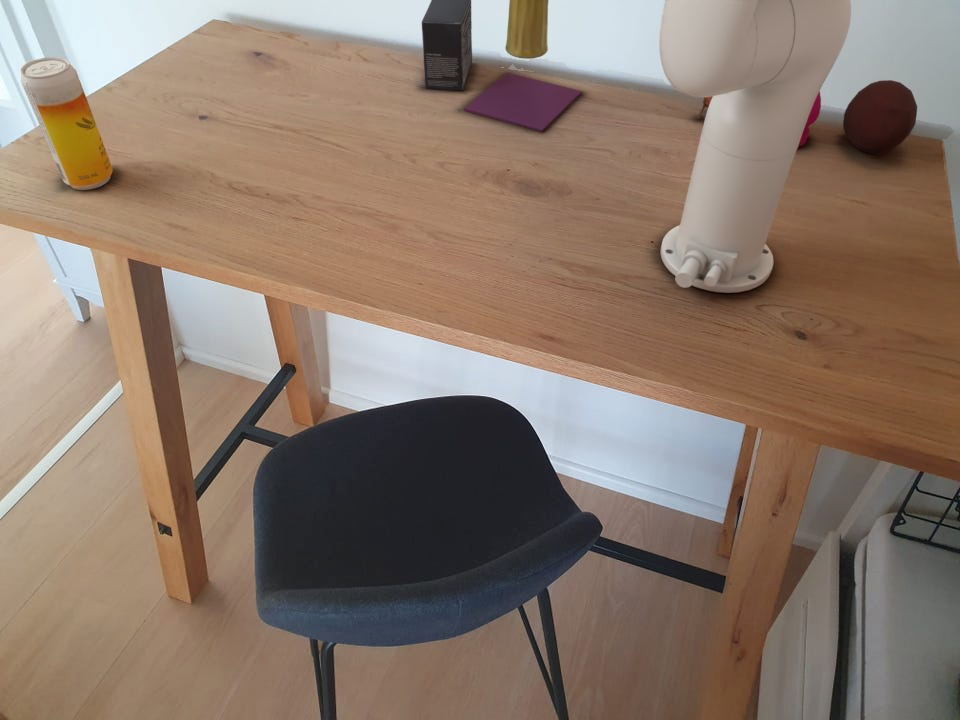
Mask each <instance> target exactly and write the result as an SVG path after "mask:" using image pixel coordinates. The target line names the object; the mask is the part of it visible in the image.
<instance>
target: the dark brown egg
mask: <svg viewBox="0 0 960 720" xmlns="http://www.w3.org/2000/svg"><path fill="white" fill-rule="evenodd" d="M917 115H918V104H917V102H916V99H915V97H914V93H913V91H912V90H911V89H910V88H908V87H907V86H906V85H905V84H903V83H901V82H900V81H896V80H892V79H887V80H886V79H884V80H877V81H874V82H871V83H869V84H868V85H866V86H865V87H864V88H863V87H862V88H861V89H860V90H859V91H858V92H857V93H856V94H855V95H854V97H853V98H852V99H851V100H850V102H848V104H847V107H846V109H845V110H844V113H843V122H842V125H843V127H842V128H843V131H844V135H845V137H846V138H847V140H849V142H850V143H851V144H852V145H853V146H854V147H855V148H856V149H858V150H859V151H861V152H864V153H867V154H868V153H869V154H885V153H887V152H890V151H892V150H894V149H895V148H897V147H898V146H899V145H900V144H902V143H903V142H904V141H905V140H907V138H908V137H909V136H910V135H911V133H912V131H913V129H914V128H915V125H916V122H917Z"/></svg>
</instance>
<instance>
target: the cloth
mask: <svg viewBox="0 0 960 720" xmlns="http://www.w3.org/2000/svg"><path fill="white" fill-rule="evenodd" d="M582 93H583V92H582V91H581V90H579V89H574V88H570V87H565V86H562V85H558V84H554V83H550V82H546V81H542V80H538V79H534V78H530V77H525V76H522V75H518V74H514V73H510V72H507V73H505V74H504V75H502V76H501V77H500V78H499V79H498V80H497V81H495V82H494V83H493V84H492V85H490V86H489V87H487V89H485V90H484V91H483V92H482V93H480V95H478V96H477V97H476V98H474V99H473V100H472V101H470V102H469V103H468V104H467V105H466V106H465V107H463V111H465V112H468V113H471V114H474V115H478V116H482V117H486V118H489V119H494V120H497V121H500V122H504V123H507V124H511V125H514V126H519V127H521V128H526V129H530V130H533V131H537V132H541V133H543V132H544V131H545V130H546V129H547V128H548V127H549V126H550V125H551V124H552V123H553V122H554V121H555V120H556V119H557V118H558V117H559V116H560V115H562V113H564V111H565V110H567V109H568V108H569V106H570V105H572V104H573V103H574V102H575V101H576V100H577V99H578V98H579V97H580V96H581V95H582Z"/></svg>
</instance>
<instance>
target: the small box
mask: <svg viewBox="0 0 960 720" xmlns="http://www.w3.org/2000/svg"><path fill="white" fill-rule="evenodd" d="M472 23H473V22H472V0H430V2H429V5H428V7H427V9H426V11H425V14H424V16H423V18H422V20H421V37H422V50H423V51H422V52H423V53H422V54H423V55H422V56H423V72H424V73H423V75H424V88H425V89H428V90H429V89H432V90H443V91H444V90H445V91H447V90H448V91H460V92H462V91H464V89H465V87H466V83H467V80H468V77H469V74H470V72H471V69H472V68H471V67H472V65H473V39H472V37H473V36H472V30H473V29H472V28H473V26H472Z"/></svg>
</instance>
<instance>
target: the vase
mask: <svg viewBox="0 0 960 720" xmlns="http://www.w3.org/2000/svg"><path fill="white" fill-rule="evenodd" d="M508 3H509V4H508V19H507V29H506V30H507V31H506V43H505V51H506V53H507V54H509V55H510V56H512V57H515V58H518V59H524V60H525V59H526V60H527V59H530V60H531V59H537V58H541V57H543V56H545V55H546V54H547V53H548V52H549V51H548V50H549V46H548V29H549V28H548V26H549V17H548V16H549V0H509V2H508Z"/></svg>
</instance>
